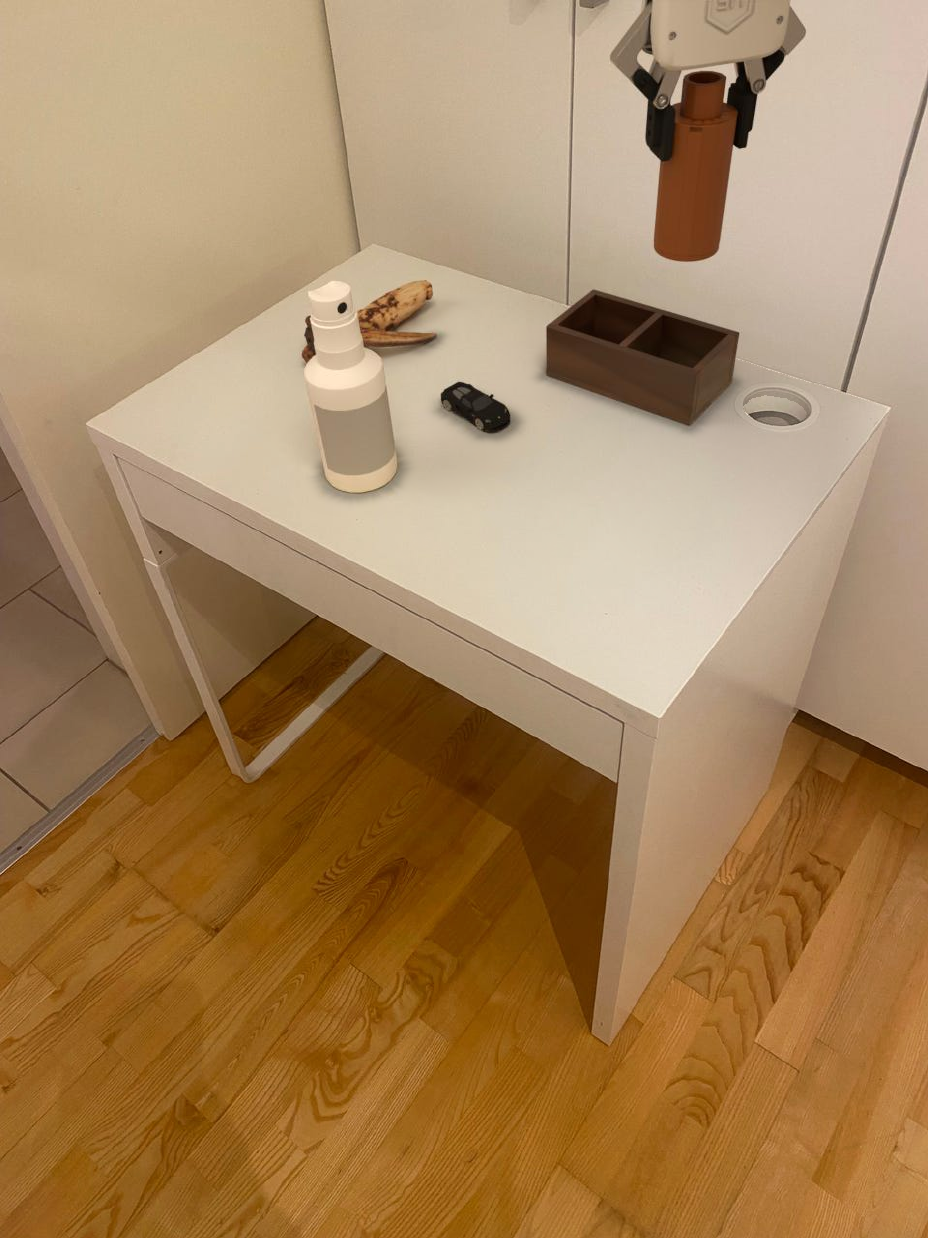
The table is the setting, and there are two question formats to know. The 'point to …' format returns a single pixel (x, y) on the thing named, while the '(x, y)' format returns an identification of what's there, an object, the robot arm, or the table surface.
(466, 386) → the toy car
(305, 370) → the spray bottle
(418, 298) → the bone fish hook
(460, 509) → the table surface
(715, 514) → the table surface
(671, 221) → the bottle
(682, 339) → the holder
